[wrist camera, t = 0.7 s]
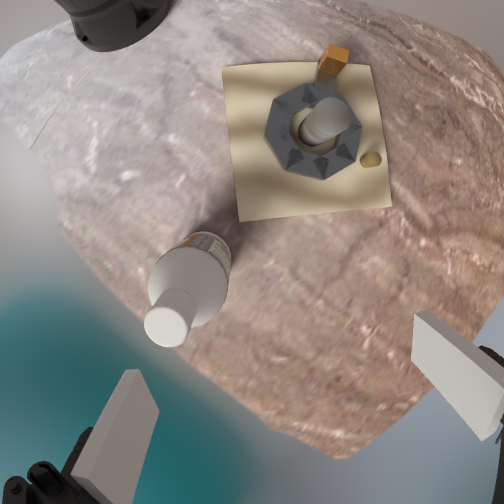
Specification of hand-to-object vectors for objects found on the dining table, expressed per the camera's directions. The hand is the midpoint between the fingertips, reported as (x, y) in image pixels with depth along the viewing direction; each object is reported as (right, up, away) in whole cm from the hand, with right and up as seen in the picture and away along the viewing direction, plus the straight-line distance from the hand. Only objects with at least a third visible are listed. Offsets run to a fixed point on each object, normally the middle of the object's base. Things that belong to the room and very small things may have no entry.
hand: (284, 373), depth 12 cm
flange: (+6, +22, +20) cm, 30 cm away
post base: (+6, +20, +22) cm, 30 cm away
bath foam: (-7, +5, +25) cm, 26 cm away
